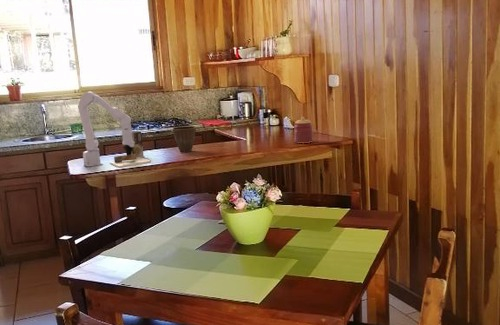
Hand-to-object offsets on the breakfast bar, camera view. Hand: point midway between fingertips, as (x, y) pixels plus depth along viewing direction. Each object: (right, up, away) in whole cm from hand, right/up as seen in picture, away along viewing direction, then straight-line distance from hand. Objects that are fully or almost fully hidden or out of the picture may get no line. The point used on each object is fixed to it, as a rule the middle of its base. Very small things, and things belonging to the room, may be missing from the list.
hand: (129, 157), depth 315 cm
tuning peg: (-2, -2, -2) cm, 3 cm away
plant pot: (+31, +4, +27) cm, 41 cm away
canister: (+111, +10, +38) cm, 118 cm away
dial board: (+1, -4, -3) cm, 5 cm away
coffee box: (0, 0, +17) cm, 17 cm away
